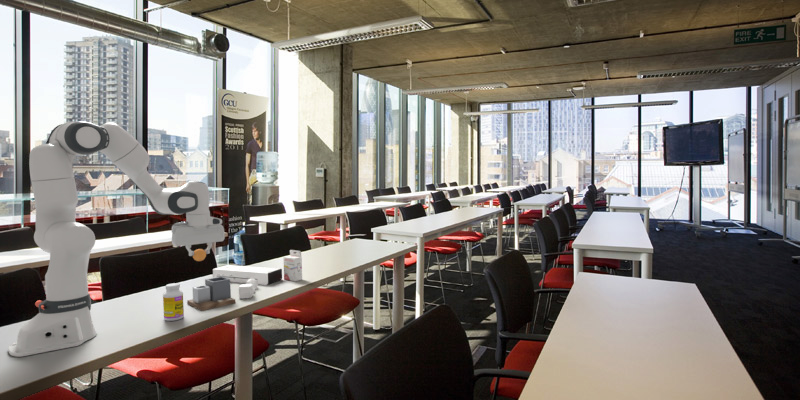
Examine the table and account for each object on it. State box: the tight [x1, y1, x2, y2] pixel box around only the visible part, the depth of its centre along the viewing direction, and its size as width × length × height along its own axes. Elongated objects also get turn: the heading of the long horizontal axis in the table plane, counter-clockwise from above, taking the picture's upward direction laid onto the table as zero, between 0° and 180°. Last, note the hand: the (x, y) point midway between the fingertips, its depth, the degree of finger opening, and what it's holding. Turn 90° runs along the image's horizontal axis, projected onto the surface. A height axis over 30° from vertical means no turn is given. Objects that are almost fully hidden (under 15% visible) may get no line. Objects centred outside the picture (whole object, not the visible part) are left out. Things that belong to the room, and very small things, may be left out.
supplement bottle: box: [162, 282, 185, 322], centre depth 167 cm, size 7×7×13 cm
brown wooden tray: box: [186, 297, 236, 312], centre depth 186 cm, size 14×14×2 cm
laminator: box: [212, 264, 283, 286], centre depth 228 cm, size 34×12×6 cm, turn 69°
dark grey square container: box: [204, 277, 232, 302], centre depth 189 cm, size 7×7×8 cm
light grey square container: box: [192, 284, 211, 304], centre depth 184 cm, size 5×5×6 cm
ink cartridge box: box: [283, 249, 303, 282], centre depth 226 cm, size 9×5×15 cm, turn 58°
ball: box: [192, 248, 207, 262], centre depth 183 cm, size 5×5×5 cm
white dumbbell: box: [238, 278, 259, 299], centre depth 203 cm, size 20×5×6 cm, turn 9°
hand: (199, 254), depth 183 cm, fingers closed on ball, 5 cm apart
